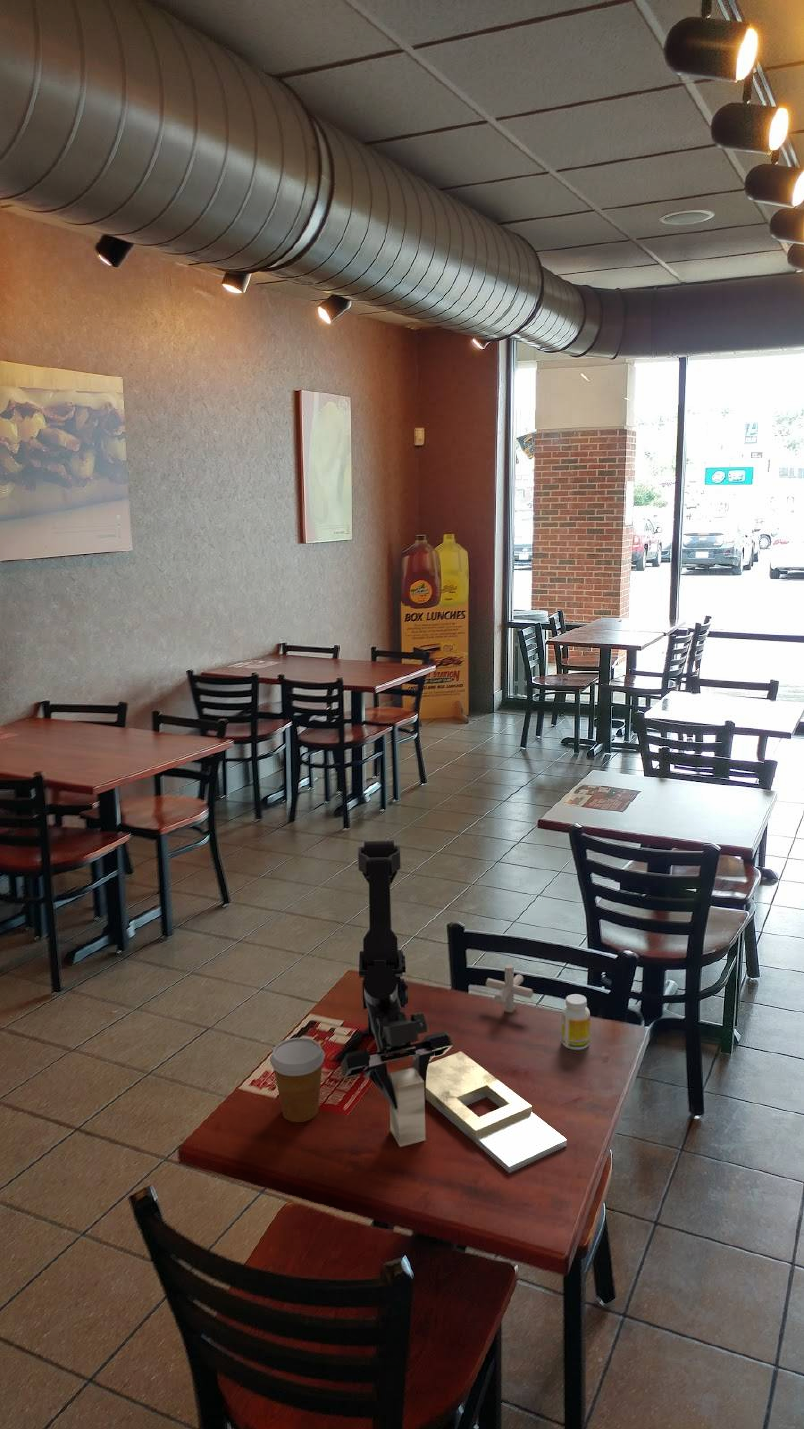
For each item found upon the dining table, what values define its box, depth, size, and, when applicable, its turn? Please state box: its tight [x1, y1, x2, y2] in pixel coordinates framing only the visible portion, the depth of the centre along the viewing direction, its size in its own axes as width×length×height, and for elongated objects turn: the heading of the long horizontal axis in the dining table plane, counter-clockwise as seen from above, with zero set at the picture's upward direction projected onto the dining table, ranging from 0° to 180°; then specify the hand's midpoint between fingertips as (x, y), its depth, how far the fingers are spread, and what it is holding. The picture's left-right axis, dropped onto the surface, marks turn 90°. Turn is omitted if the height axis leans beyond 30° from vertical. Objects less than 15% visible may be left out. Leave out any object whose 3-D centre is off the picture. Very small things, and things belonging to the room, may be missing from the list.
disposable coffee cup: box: [269, 1037, 326, 1123], centre depth 174 cm, size 10×10×12 cm
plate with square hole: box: [425, 1051, 568, 1174], centre depth 173 cm, size 30×12×2 cm, turn 32°
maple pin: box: [388, 1067, 426, 1148], centre depth 167 cm, size 5×5×11 cm
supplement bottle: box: [561, 993, 591, 1051], centre depth 194 cm, size 5×5×10 cm
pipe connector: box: [485, 963, 534, 1013], centre depth 207 cm, size 10×10×10 cm
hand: (409, 1105), depth 165 cm, fingers closed on maple pin, 5 cm apart
